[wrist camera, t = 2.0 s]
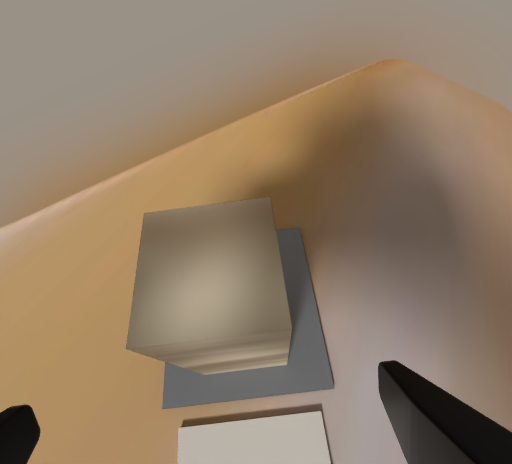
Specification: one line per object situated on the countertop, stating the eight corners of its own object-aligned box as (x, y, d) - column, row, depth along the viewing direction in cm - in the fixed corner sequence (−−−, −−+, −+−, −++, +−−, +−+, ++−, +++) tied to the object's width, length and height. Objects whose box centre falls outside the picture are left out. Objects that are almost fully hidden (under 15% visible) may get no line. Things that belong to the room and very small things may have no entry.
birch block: (286, 364, 17) (292, 328, 8) (204, 375, 17) (125, 349, 8) (275, 286, 19) (270, 196, 11) (204, 295, 19) (143, 213, 11)
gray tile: (333, 388, 16) (334, 388, 16) (164, 408, 16) (162, 408, 16) (299, 229, 22) (299, 227, 22) (173, 245, 22) (172, 243, 22)
